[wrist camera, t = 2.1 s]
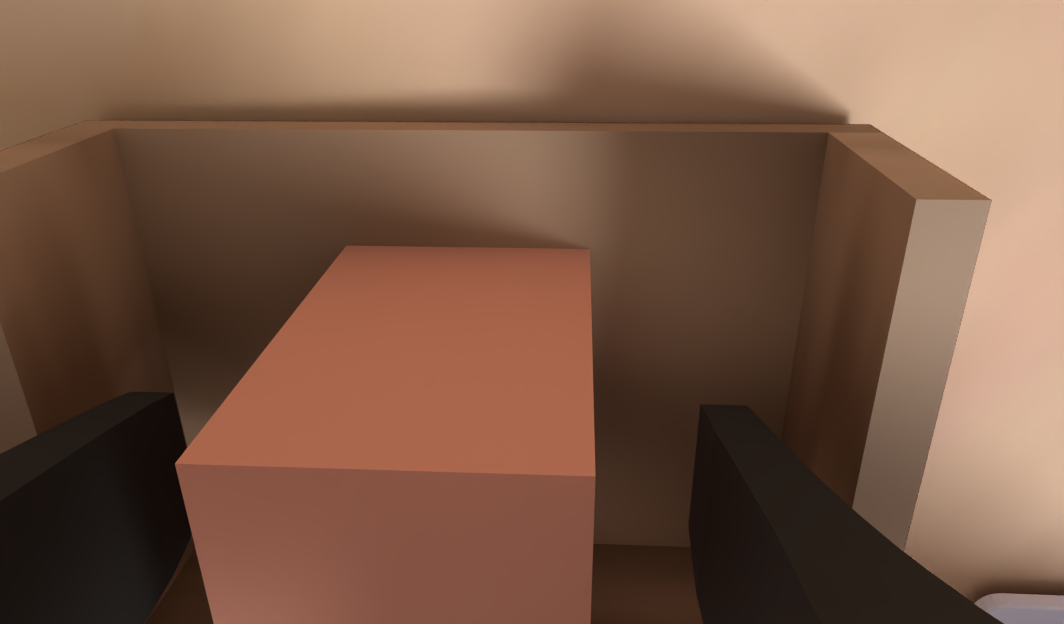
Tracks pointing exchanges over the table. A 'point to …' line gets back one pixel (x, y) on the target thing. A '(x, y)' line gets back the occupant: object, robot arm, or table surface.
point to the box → (515, 222)
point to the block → (408, 448)
